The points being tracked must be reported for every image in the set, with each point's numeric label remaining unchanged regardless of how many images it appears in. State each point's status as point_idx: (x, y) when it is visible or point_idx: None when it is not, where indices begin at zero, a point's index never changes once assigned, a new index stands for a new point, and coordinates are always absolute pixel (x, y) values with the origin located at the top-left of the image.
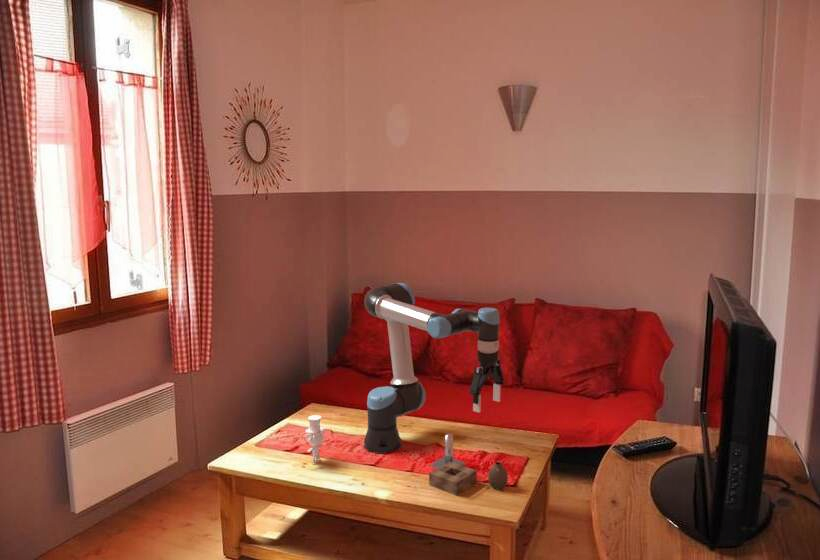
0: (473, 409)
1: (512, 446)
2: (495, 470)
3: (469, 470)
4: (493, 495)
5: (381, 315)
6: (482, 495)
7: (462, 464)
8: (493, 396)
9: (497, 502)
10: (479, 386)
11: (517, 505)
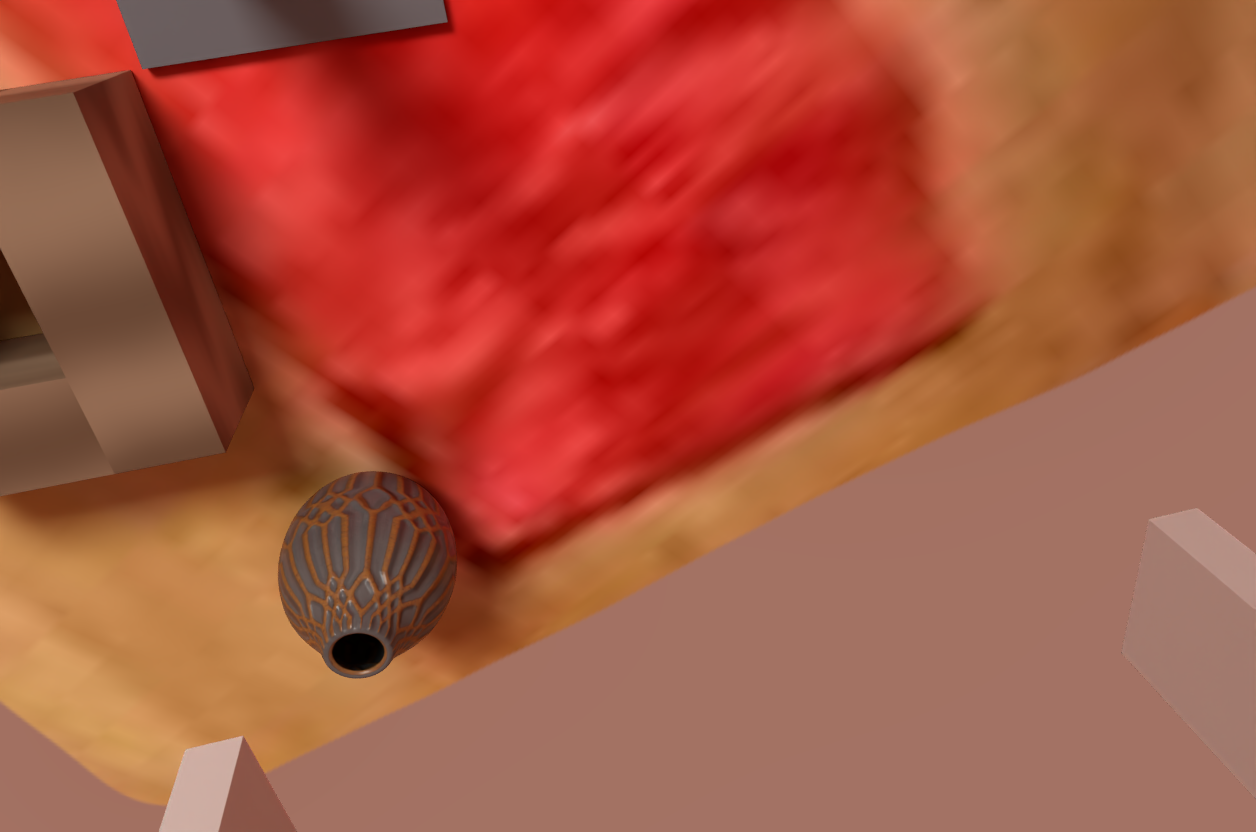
0: (180, 792)
1: (1102, 69)
2: (306, 638)
3: (158, 409)
4: (249, 582)
5: None
6: (170, 542)
7: (391, 18)
8: (1233, 603)
9: (206, 657)
10: None
11: (302, 735)
